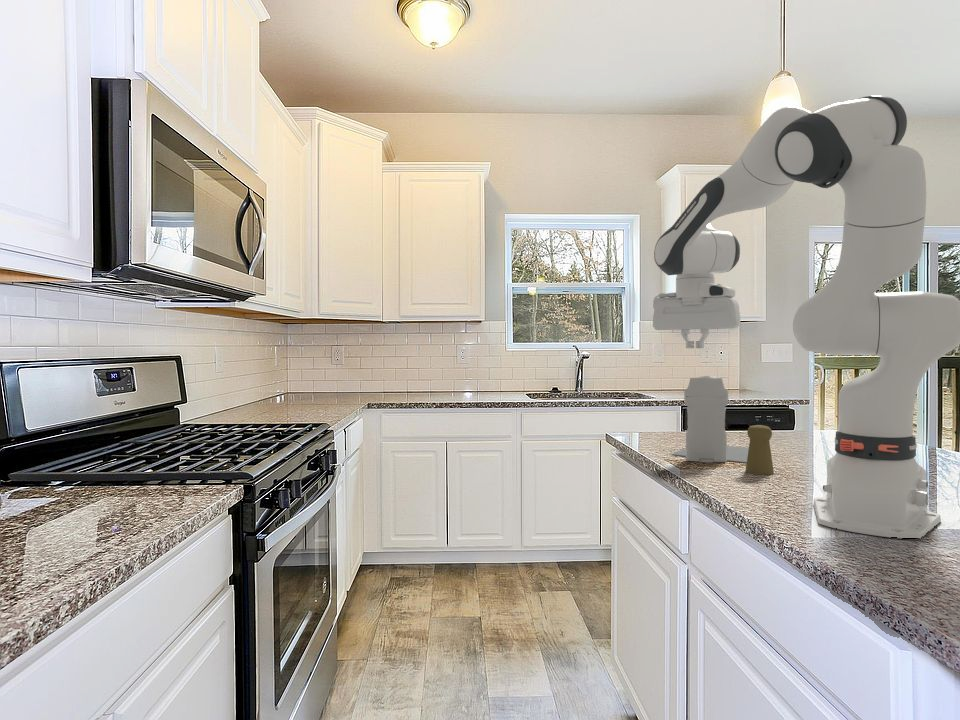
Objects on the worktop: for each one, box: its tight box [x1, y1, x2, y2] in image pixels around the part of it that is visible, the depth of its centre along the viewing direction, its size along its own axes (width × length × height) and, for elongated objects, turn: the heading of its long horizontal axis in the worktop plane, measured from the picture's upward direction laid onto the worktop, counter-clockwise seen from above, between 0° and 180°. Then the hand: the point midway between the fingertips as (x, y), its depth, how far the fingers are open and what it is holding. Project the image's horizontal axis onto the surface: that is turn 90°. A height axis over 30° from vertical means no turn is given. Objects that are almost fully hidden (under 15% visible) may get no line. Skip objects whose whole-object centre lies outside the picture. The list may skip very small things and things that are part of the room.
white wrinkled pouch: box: [683, 375, 729, 464], centre depth 153 cm, size 11×4×22 cm, turn 75°
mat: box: [671, 445, 749, 464], centre depth 164 cm, size 22×20×1 cm
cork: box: [745, 424, 775, 476], centre depth 140 cm, size 6×6×11 cm
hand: (694, 348), depth 145 cm, fingers closed
